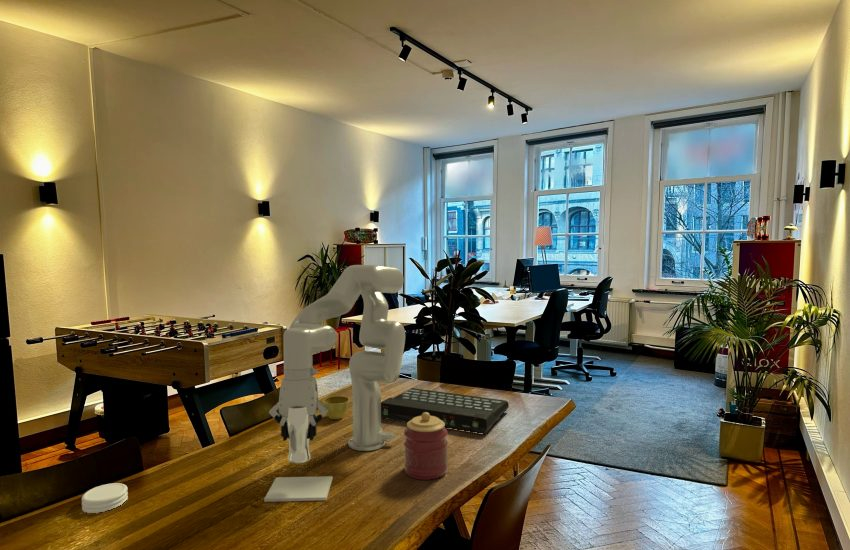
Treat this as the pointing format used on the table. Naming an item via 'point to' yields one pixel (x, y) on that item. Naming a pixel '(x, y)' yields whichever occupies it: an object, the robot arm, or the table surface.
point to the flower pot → (336, 406)
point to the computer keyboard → (446, 409)
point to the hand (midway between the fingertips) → (299, 438)
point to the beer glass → (298, 434)
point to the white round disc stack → (104, 498)
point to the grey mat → (299, 489)
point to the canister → (425, 447)
